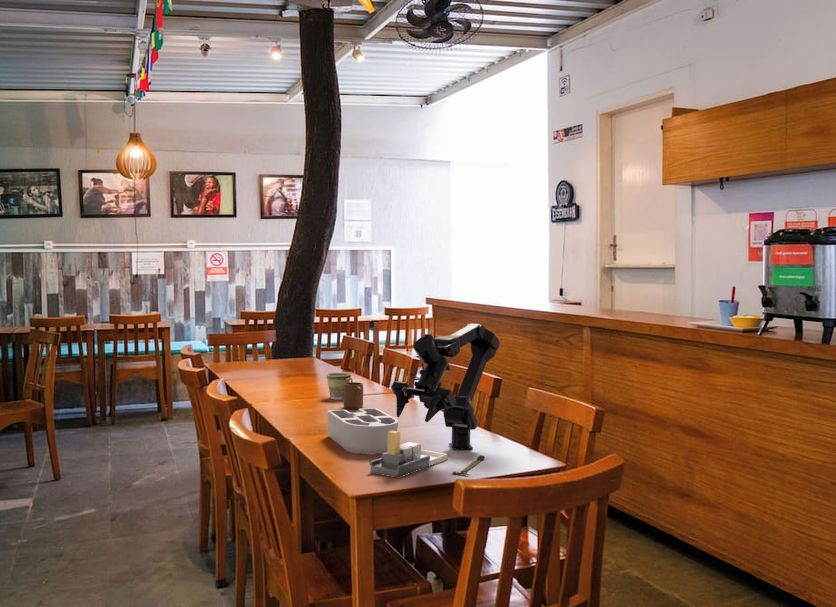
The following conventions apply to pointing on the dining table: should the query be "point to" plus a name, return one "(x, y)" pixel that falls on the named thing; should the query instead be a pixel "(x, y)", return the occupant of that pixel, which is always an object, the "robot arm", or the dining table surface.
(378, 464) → the slot deck
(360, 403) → the mug
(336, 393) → the ceramic cup
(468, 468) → the tactical tomahawk
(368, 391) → the dining table surface
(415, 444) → the speckled white cube
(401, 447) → the pale grey cube
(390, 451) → the yellow peg on base
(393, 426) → the grey compartment organizer
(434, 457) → the tray
